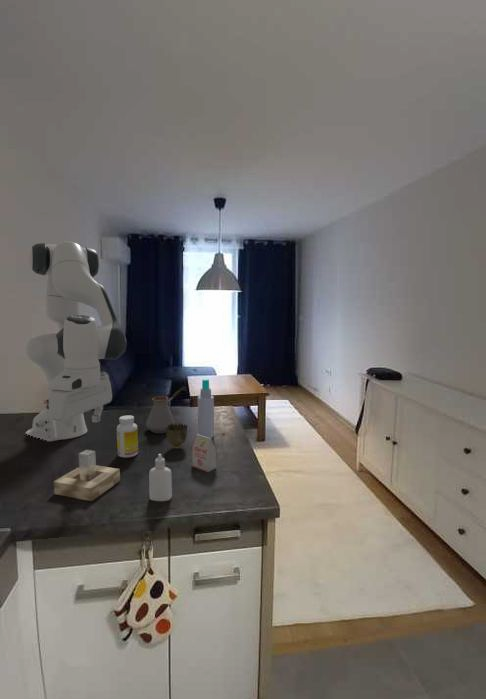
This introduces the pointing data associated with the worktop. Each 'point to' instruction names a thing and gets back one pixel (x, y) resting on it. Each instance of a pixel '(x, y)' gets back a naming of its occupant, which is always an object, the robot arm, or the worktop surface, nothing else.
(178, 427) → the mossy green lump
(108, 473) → the tan square ring
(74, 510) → the worktop surface
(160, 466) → the eye dropper bottle
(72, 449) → the worktop surface
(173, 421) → the coffee pot
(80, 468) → the metal peg
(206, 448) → the white and red box
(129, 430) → the supplement bottle
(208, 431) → the spray bottle
